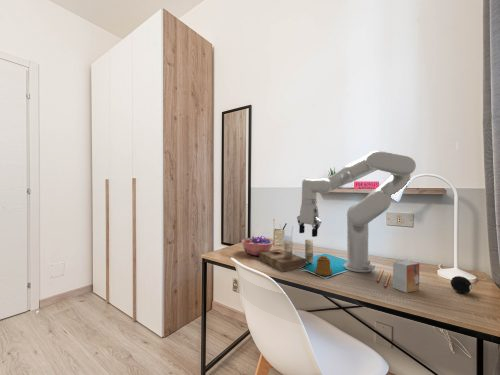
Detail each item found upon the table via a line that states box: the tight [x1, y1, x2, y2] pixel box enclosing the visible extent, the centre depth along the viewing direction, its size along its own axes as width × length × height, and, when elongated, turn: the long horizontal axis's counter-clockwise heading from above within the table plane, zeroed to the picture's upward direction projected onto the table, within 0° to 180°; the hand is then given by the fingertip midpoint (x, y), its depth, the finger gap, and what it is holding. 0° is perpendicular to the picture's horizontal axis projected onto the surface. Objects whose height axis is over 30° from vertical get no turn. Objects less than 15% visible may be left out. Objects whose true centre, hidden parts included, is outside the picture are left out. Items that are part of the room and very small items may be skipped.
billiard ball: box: [450, 275, 473, 294], centre depth 92 cm, size 6×6×6 cm
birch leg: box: [304, 239, 314, 263], centre depth 128 cm, size 4×4×12 cm
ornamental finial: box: [314, 255, 333, 277], centre depth 112 cm, size 8×8×8 cm
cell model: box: [241, 235, 274, 257], centre depth 144 cm, size 17×20×11 cm
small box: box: [392, 259, 420, 293], centre depth 96 cm, size 8×6×10 cm
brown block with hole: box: [258, 241, 307, 272], centre depth 128 cm, size 22×14×12 cm, turn 29°
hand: (308, 234), depth 128 cm, fingers open, 9 cm apart
